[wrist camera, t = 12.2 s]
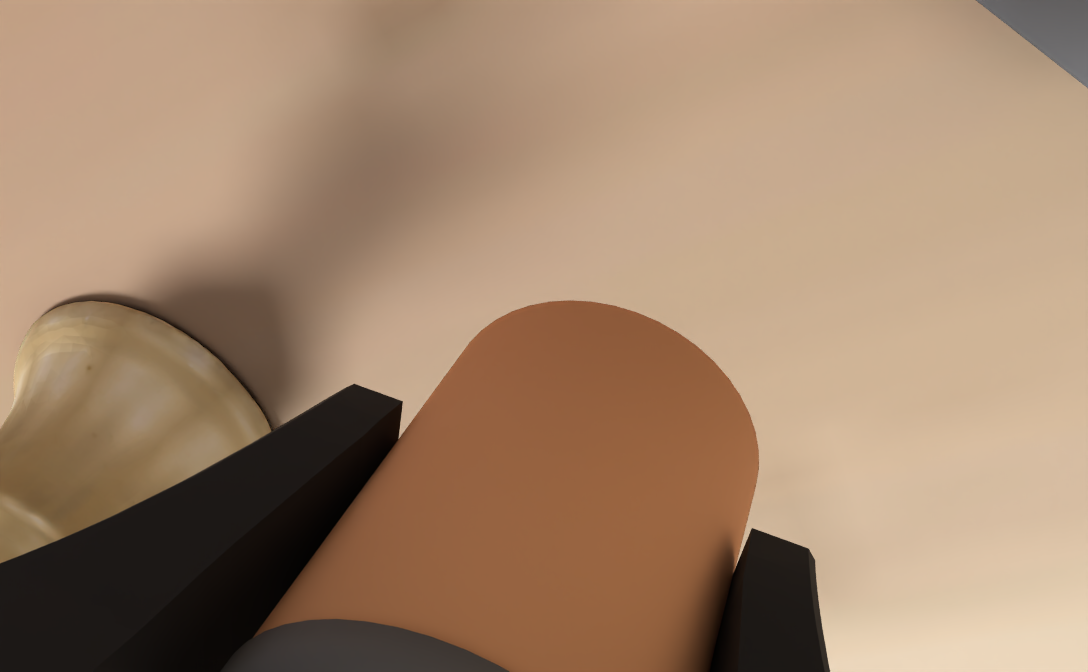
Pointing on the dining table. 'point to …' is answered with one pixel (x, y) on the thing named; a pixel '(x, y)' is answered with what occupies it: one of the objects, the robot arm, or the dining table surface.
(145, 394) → the hand bell
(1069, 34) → the panel
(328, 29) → the dining table surface
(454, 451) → the cap
